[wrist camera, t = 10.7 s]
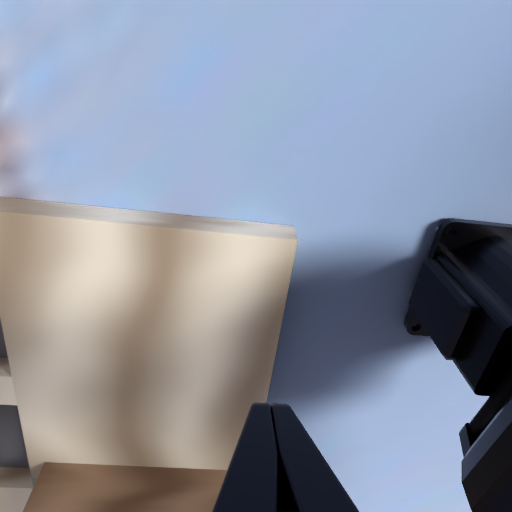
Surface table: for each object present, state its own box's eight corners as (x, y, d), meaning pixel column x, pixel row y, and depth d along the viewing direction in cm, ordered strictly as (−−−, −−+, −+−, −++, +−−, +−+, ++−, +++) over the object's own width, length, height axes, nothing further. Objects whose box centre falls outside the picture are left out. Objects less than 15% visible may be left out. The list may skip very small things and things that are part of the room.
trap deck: (293, 225, 19) (297, 240, 18) (241, 509, 29) (241, 531, 28) (-180, 178, 17) (-215, 190, 16) (-61, 500, 27) (-76, 524, 26)
